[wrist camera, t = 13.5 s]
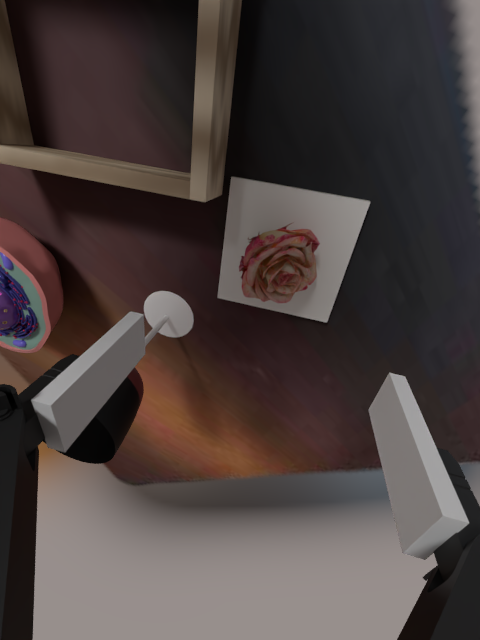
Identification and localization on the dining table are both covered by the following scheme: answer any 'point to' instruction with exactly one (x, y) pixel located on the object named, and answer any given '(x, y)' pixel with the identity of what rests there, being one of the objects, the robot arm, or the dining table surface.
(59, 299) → the cell model
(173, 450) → the dining table surface
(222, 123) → the frame
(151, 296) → the wineglass
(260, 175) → the dining table surface
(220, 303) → the dining table surface
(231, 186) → the tile
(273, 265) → the flower
